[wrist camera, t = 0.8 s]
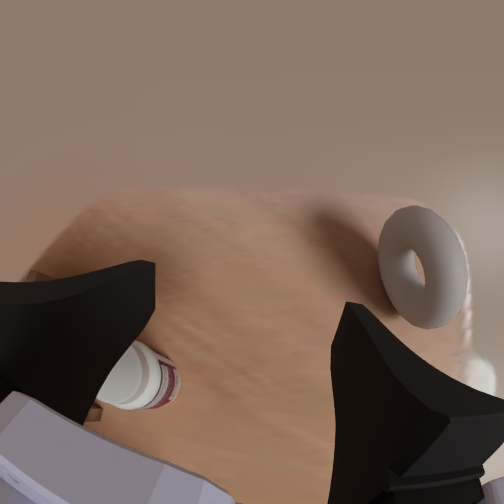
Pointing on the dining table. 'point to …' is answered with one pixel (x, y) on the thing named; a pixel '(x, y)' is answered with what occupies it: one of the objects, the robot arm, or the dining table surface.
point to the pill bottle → (141, 380)
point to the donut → (433, 262)
